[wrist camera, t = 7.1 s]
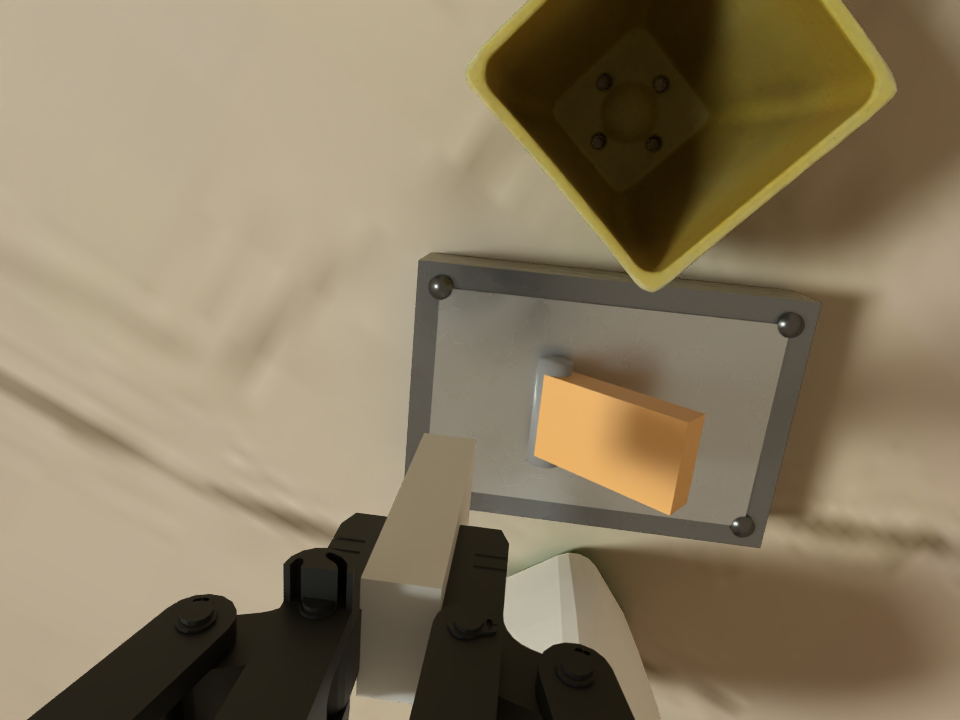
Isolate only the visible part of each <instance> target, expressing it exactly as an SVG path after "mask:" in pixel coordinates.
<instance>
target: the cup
mask: <svg viewBox="0 0 960 720" xmlns="http://www.w3.org/2000/svg"><path fill="white" fill-rule="evenodd" d="M503 617H504V624H505V626H506V628H507V631H508V632H509V633H510V634H511V635H512V637H513V638H514V639H516V640H517V641H518V642H519V643H521V644H522V645H524V646H526V647H528V648H530V649H532V650H534V651H537V652H539V653H543V651H545V650H546V649H548V648H549V647H551V646H552V645H555V644H560V643H565V642H567V643H576V644H581V645H584V646H586V647H589V648H591V649H594V650H595V651H596V652H598V653H599V654H600V655H602V656H603V657H604V658H605V659H606V660H607V662H608V663H609V665H610V666H611V667H612V669H613V671H614V673H615V676H616V678H617V680H618V682H619V685H620V687H621V689H622V691H623V693H624V696H625V698H626V700H627V702H628V705H629V707H630V709H631V711H632V714H633V716H634V718H635V720H661V718H660V714H659V711H658V708H657V704H656V701H655V698H654V695H653V692H652V689H651V686H650V683H649V680H648V678H647V675H646V672H645V669H644V666H643V663H642V660H641V657H640V655H639V652H638V649H637V646H636V644H635V641H634V639H633V636H632V634H631V631H630V629H629V626H628V623H627V621H626V618H625V616H624V613H623V612H622V610H621V608H620V607H619V605H618V603H617V601H616V600H615V598H614V596H613V595H612V593H611V591H610V590H609V588H608V586H607V584H606V583H605V581H604V579H603V578H602V576H601V574H600V573H599V571H598V569H597V567H596V566H595V565H594V564H593V563H592V562H591V560H590V559H588V558H586V557H584V556H582V555H580V554H575V553H565V554H561V555H557V556H555V557H553V558H550V559H548V560H546V561H543V562H541V563H539V564H537V565H534V566H532V567H530V568H528V569H525V570H523V571H521V572H518V573H516V574H514V575H512V576H509V577H507V578H506V588H505V600H504V613H503Z"/></svg>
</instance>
